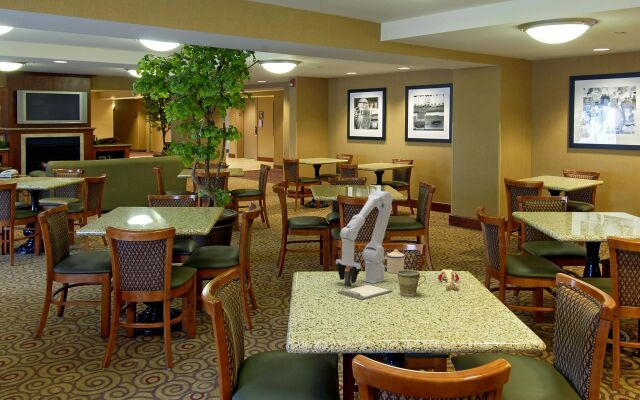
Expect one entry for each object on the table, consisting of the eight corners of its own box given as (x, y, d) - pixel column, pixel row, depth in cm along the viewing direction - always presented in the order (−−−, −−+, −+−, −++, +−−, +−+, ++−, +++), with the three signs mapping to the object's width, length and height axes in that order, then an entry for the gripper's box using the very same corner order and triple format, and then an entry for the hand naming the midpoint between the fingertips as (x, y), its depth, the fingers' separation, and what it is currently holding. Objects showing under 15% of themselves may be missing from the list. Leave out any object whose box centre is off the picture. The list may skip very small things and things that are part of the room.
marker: (347, 284, 285) (348, 267, 284) (352, 285, 282) (352, 268, 281) (343, 285, 283) (343, 268, 282) (347, 286, 280) (348, 269, 279)
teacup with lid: (404, 270, 314) (405, 248, 312) (404, 274, 305) (404, 251, 303) (381, 269, 316) (381, 247, 314) (380, 273, 307) (380, 250, 305)
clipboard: (368, 285, 282) (368, 282, 282) (392, 291, 271) (392, 288, 271) (337, 293, 269) (337, 289, 269) (361, 300, 258) (362, 296, 258)
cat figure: (463, 293, 274) (456, 276, 299) (464, 275, 272) (456, 259, 297) (441, 293, 275) (435, 275, 299) (442, 275, 273) (436, 259, 298)
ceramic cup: (393, 295, 266) (394, 273, 265) (401, 290, 275) (401, 268, 273) (421, 299, 260) (422, 276, 259) (428, 293, 269) (429, 272, 267)
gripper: (331, 251, 283) (331, 279, 285) (353, 256, 273) (352, 285, 274) (342, 249, 288) (341, 277, 290) (363, 254, 277) (363, 282, 279)
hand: (347, 281), depth 282 cm, fingers open, 7 cm apart
